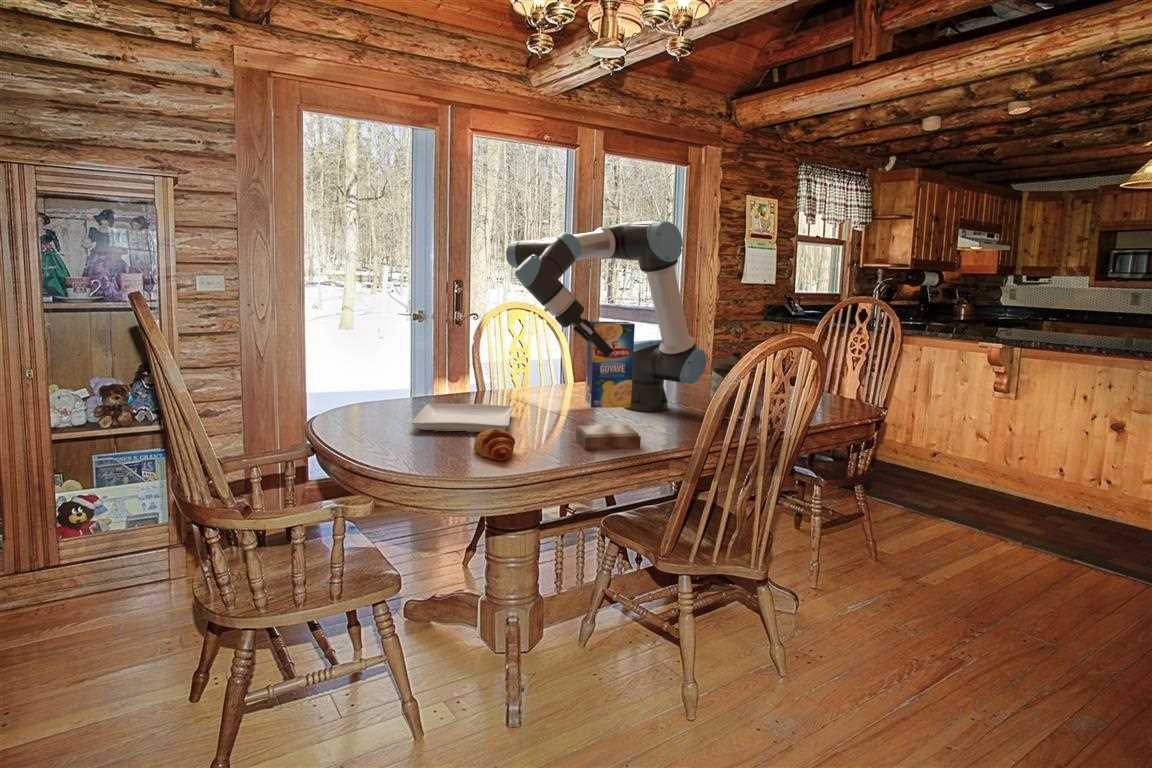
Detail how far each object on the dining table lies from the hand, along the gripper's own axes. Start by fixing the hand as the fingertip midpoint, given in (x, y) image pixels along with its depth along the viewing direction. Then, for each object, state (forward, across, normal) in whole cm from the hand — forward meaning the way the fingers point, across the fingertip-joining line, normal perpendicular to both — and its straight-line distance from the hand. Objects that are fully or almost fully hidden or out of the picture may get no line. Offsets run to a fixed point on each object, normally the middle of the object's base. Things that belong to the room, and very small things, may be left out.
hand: (623, 371), depth 191 cm
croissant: (-10, +6, -39) cm, 40 cm away
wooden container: (+48, -32, +20) cm, 61 cm away
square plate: (-13, -28, -42) cm, 53 cm away
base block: (+12, 0, -16) cm, 20 cm away
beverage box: (+4, 0, -9) cm, 10 cm away
